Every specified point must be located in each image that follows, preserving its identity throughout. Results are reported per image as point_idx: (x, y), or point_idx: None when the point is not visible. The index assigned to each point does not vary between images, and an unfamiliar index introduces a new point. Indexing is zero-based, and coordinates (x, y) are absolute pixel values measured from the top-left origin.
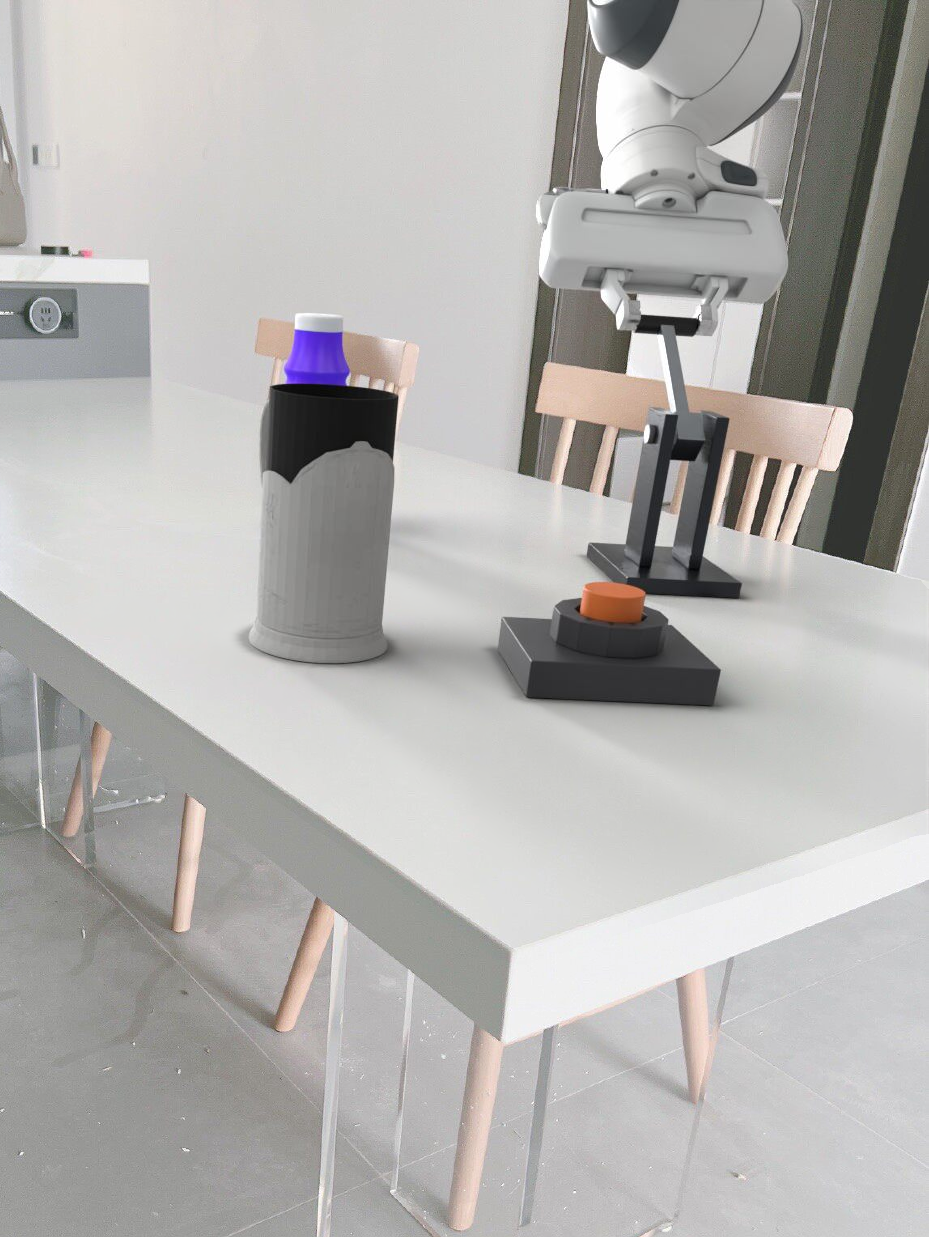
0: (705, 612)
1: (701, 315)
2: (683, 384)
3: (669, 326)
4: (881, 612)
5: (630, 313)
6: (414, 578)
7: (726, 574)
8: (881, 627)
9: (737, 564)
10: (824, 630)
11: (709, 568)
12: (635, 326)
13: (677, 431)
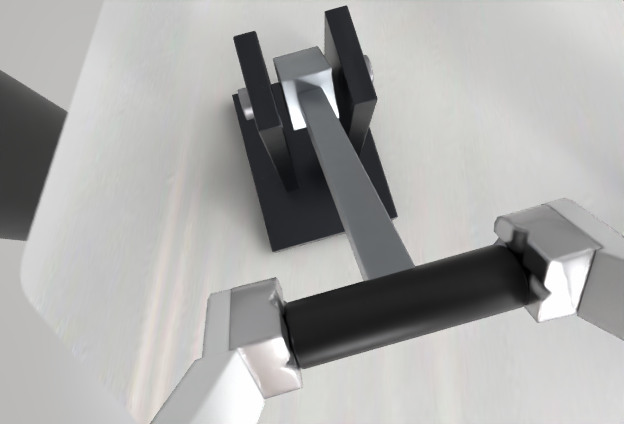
0: (273, 36)
1: (273, 291)
2: (315, 133)
3: (384, 268)
4: (99, 115)
5: (546, 206)
6: (553, 30)
7: (244, 126)
8: (115, 58)
9: (216, 270)
10: (172, 24)
11: (260, 146)
12: (499, 241)
13: (320, 51)
